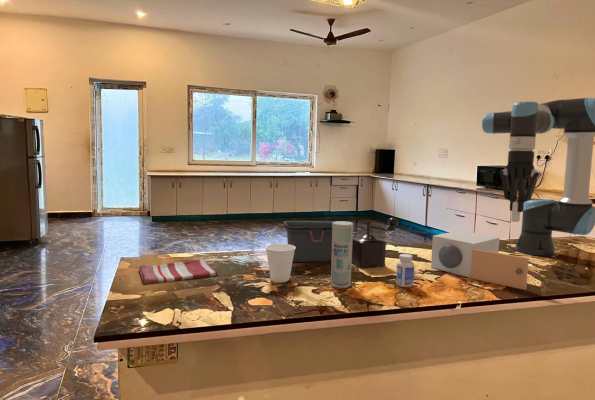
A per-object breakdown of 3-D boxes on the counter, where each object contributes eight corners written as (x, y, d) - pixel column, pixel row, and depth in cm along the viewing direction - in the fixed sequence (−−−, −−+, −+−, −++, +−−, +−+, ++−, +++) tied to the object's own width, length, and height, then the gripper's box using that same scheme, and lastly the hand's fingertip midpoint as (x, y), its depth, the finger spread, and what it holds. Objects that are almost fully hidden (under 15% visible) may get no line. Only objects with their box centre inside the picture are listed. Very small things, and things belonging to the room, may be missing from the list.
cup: (299, 277, 142) (299, 245, 141) (288, 286, 133) (289, 252, 131) (271, 274, 145) (272, 242, 144) (259, 282, 136) (260, 248, 135)
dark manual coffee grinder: (361, 269, 154) (363, 220, 151) (348, 261, 164) (349, 215, 162) (398, 266, 159) (401, 218, 157) (383, 258, 169) (385, 214, 167)
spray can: (351, 282, 138) (354, 221, 136) (350, 288, 132) (352, 225, 129) (331, 280, 139) (333, 220, 137) (329, 287, 133) (331, 224, 130)
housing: (457, 260, 169) (459, 230, 168) (497, 269, 157) (499, 237, 155) (428, 268, 157) (430, 236, 155) (468, 279, 144) (471, 244, 143)
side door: (526, 289, 134) (528, 258, 133) (524, 290, 132) (527, 259, 131) (471, 277, 145) (473, 248, 144) (468, 278, 143) (471, 249, 142)
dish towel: (138, 271, 146) (138, 264, 146) (205, 264, 157) (205, 257, 156) (144, 286, 131) (143, 278, 131) (218, 277, 142) (218, 269, 141)
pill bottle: (414, 283, 138) (416, 254, 137) (411, 288, 133) (413, 258, 132) (397, 281, 140) (399, 252, 139) (394, 285, 135) (395, 256, 134)
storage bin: (332, 254, 174) (333, 219, 173) (344, 264, 159) (345, 227, 157) (281, 255, 170) (282, 220, 168) (288, 266, 155) (289, 228, 153)
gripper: (496, 149, 141) (490, 219, 144) (537, 150, 131) (531, 225, 134) (506, 149, 146) (501, 217, 149) (547, 150, 136) (541, 223, 139)
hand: (515, 221), depth 142 cm, fingers closed
